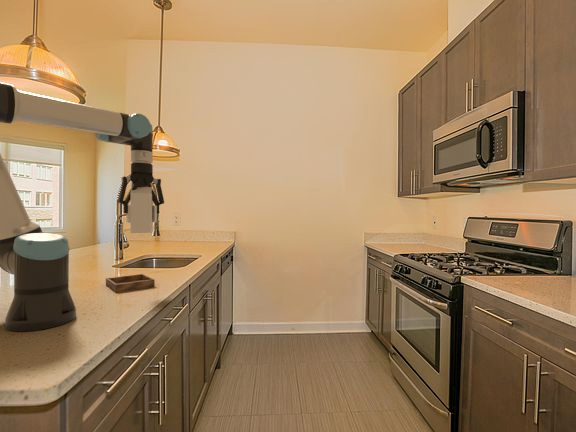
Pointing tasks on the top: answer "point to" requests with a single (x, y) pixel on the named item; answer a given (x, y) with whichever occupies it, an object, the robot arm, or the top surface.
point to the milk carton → (141, 210)
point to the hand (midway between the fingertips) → (141, 222)
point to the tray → (129, 282)
